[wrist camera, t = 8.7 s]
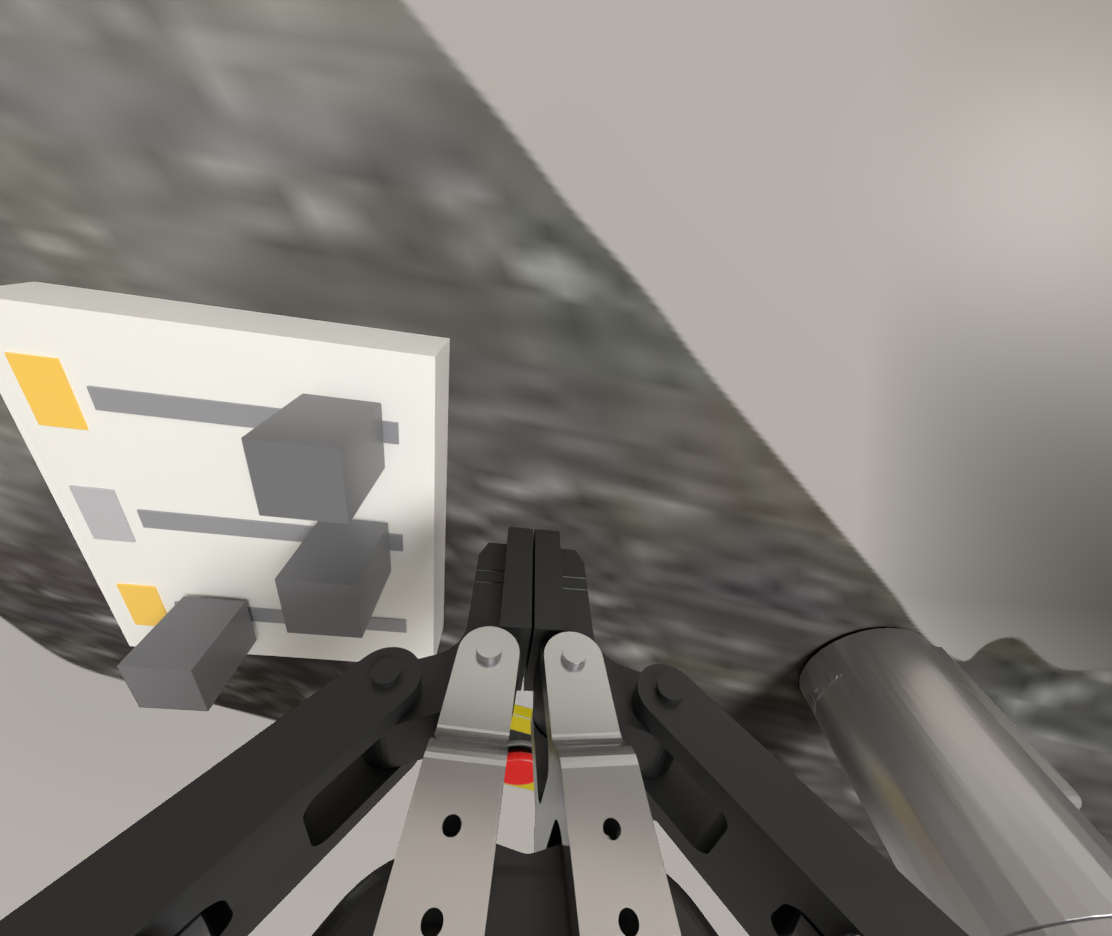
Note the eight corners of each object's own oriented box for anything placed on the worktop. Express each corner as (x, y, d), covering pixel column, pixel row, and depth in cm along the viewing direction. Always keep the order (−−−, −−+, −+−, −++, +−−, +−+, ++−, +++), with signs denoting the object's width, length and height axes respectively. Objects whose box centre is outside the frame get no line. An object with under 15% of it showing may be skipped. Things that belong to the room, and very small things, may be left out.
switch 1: (245, 601, 23) (190, 670, 19) (256, 639, 24) (208, 711, 20) (183, 596, 22) (116, 666, 19) (198, 635, 24) (139, 707, 20)
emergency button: (456, 715, 27) (653, 768, 31) (467, 654, 31) (641, 708, 35) (408, 783, 31) (588, 822, 35) (423, 721, 35) (584, 763, 39)
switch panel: (449, 338, 20) (434, 357, 17) (443, 626, 29) (432, 668, 26) (34, 281, 18) (-55, 292, 15) (169, 605, 27) (128, 647, 25)
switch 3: (388, 523, 20) (356, 586, 17) (391, 571, 22) (361, 638, 18) (321, 516, 20) (274, 579, 17) (328, 565, 21) (287, 632, 18)
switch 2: (381, 402, 17) (340, 449, 14) (385, 467, 19) (348, 524, 15) (302, 393, 17) (240, 437, 14) (312, 460, 19) (259, 515, 15)
